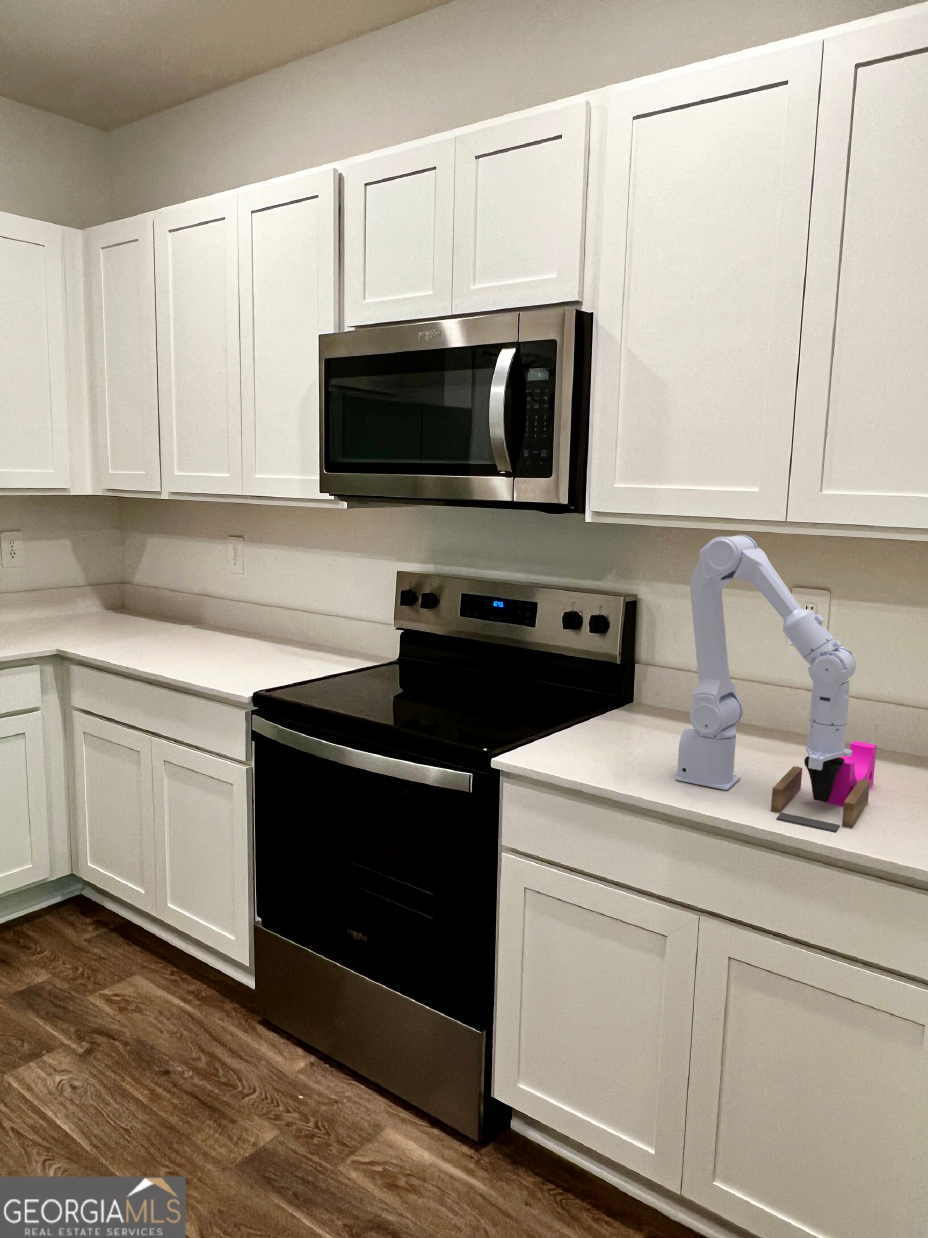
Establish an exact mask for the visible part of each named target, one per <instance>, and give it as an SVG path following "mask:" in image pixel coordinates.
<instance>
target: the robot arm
mask: <svg viewBox="0 0 928 1238" xmlns="http://www.w3.org/2000/svg"><path fill="white" fill-rule="evenodd" d="M757 544H758V543H756V541H755V540H754V539H753V538H752V537H750V536H748V535H745V534H736V535H733V536H717V537H715V538H712V539H711V540H709V542H707V543H706V544H705V545H704V546H703V547H702V548H701V549H700V550H699V552H698V555H699V556H698V557H699V558H698V560H697V564H696V565H695V568H694V571H693V573H692V575H691V577H690V580H689V590H690V591H689V592H690V593H689V594H690V599H691V600H690V603H691V611H692V623H693V625H692V626H693V634H694V645H695V657H696V666H697V676H698V682H697V683H696V687H695V688H694V691H693V693H692V706H691V708H690V712H689V721H690V722H689V723H690V724H691V726H692V728H685V729H684V730H683V731H682V733H681V735H680V739H679V743H678V756H677V770H676V771H677V772H676V773H677V774H676V776H675V780H676V781H680V782H684V783H689V784H693V785H699V786H704V787H708V788H714V789H719V790H723V791H728V790H730V789H731V788H732V787H733V786H734V785H735V784H736V783H738V781H740V780H741V776H739V775H735V774H734V771H735V758H736V757H735V756H736V744H737V743H736V741H737V729H736V725H737V724H738V723H739V722H740V721H741V720H742V717H743V714H744V708H743V703H742V702H741V700H740V699H739V697H738V693H737V687H736V685H735V683H734V682H733V681H732V679H731V678H730V669H729V657H728V647H727V646H728V645H727V636H726V626H725V625H726V624H725V614H724V613H725V612H724V603H723V592H722V591H723V590H724V589H725V588H726V586H727V585H728V584H729V583H730V582H731V581H732V580H733V579H734V578H735V579H738V580H741V581H745V582H747V583H752V584H753V585H754V586H755V587H756V588H757V589H758V591H759V592H760V593H761V594H762V596H763V597H764V598H765V599H766V600H767V601H768V603H769V604H770V605H771V606H772V608H773V609H774V610H775V611H776V612H777V613H778V615H779V616H780V617H781V618H782V619H783V624H782V625H783V627H782V632H783V633H784V634H785V636H786V637H787V638H788V639H789V642H791V644H792V646H793V647H794V648H795V649H796V651H797V652H798V653H799V654H800V656H801V657H802V658H803V660H804V661H805V662H806V663H807V664H809V666H808V667H807V668H808V669H807V670H808V675H809V677H810V679H811V681H812V691H811V697H810V699H811V700H810V711H809V721H808V730H807V731H808V732H807V733H808V734H807V743H806V744H805V751H806V753H807V754H808V756H806V757H805V758H804V759H803V760H804V766H805V768H806V769H807V772H808V776H809V779H810V783H811V791H812V797H813V801H816V802H822V803H826V802H827V801H828V799H829V797H830V794H831V791H832V788H833V784H834V781H835V778H836V776H837V774H838V771H839V770H840V768H841V766H842V765H843V763H844V759H843V758H839V757H841V756H851V755H852V750H850V748H845V746H846V736H847V724H848V723H847V722H848V712H849V703H850V702H849V701H850V694H849V693H850V683H851V682H850V680H849V679H851V677H852V676H853V675H854V673H855V671H856V669H857V668H856V667H857V665H856V664H857V663H856V660H855V657H854V656H853V654H852V651H851V650H850V649H848V648H846V647H843V646H842V643H841V641H840V640H838V639H837V640H836V639H835V638H834V637H833V635H832V634H831V633H830V631H829V630H828V629H827V628H826V627H825V625H824V624H823V622H825V618H824V617H822V615H821V614H816V613H815V612H814V611H813V610H810V609H804V608H802V607H801V606H800V604H799V603H798V601H797V600H796V598H795V597H794V596H793V595H792V593H791V591H790V590H789V588H788V586H787V585H786V584H785V582H784V581H783V580H782V578H781V577H780V574H778V572H777V571H776V570H775V568H774V567H773V564H772V563H771V562H770V560H769V559H768V556H767V554H766V552H765V551H764V550H762V548H760V547H758V545H757Z"/></svg>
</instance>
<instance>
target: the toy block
mask: <svg viewBox="0 0 928 1238" xmlns="http://www.w3.org/2000/svg"><path fill="white" fill-rule="evenodd" d="M877 746H878V745H877V744H873V743H868V742H864V741H857V740H854V741H853V742H851V743H850V745H849V750H852V755H851V756H841V757H839V758H843V759H844V763H843V765H842V766H841V768H840V770H839V771H838V774H837V776H836V778H835V781H834V784H833V788H832V791H831V794H830V797H829V799H828V801H827V802H825V803H827V804H831V805H835V806H838V807H843V808H844V802H845V800H846V799H847V797H848V796H849V794H850V793H851V792H852V790H853V789H854V787H855V786H856V784H857V783H858V781H859V780H860V779H866V780H870V786H869V789H870V788H872V787H873V786H874V779H875V767H876V758H877V748H878V747H877Z"/></svg>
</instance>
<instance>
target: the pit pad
mask: <svg viewBox="0 0 928 1238" xmlns="http://www.w3.org/2000/svg"><path fill="white" fill-rule="evenodd" d="M776 820H777V821H781V822H785V823H791V824H794V825H799V826H804V827H807V828H814V829H818V830H824V831H826V832H827V831H828V832H831V833H837V832H838V830H839V829H840V827H841V825H840V824H839V823H838V824H837V823H834V822H828V821H824V820H819V819H814V818H809V817H804V816H800V815H797V814H796V815H795V814H790V813H786V812H783V811H782V812H781V813H778V816H777V817H776Z"/></svg>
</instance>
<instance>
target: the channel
mask: <svg viewBox="0 0 928 1238" xmlns="http://www.w3.org/2000/svg"><path fill="white" fill-rule="evenodd" d="M802 778H803V767H800V766H794V765H793V766H792V767H791V768H790V769H789V771H787V773H786V774H784V776H783V777H781V778H780V780H778V781H777V783H776V784H775V785H774V786H773V787H772V791H771V804H770V805H771V806H770V812H772V813H777V814H780V813H781V812H782V813H783V810H785V808H786V807H787V806H788V805H789V804H790V802H791V801H792V800H793V799H794V798H795V797H796V796H797V795H798V793H799V792H800V791H801V790H802V789H801V788H802ZM869 786H870V780H866V779H860V780H859V781H858V783H857V784H856V786H855V787H854V789H853V790H852V792H851V793H850V794H849V796H848V797H847V799H846V800H845V802H844V807H843V808H842V821H841V822H842V823H841V827H842V828H847V829H853V828H854V826H855V824H856V823H857V821H858V819H859V818H860V817H861V815H862V813H863V811H864V810H865V808H866V806H868V804H869V794H870V788H869Z"/></svg>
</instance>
